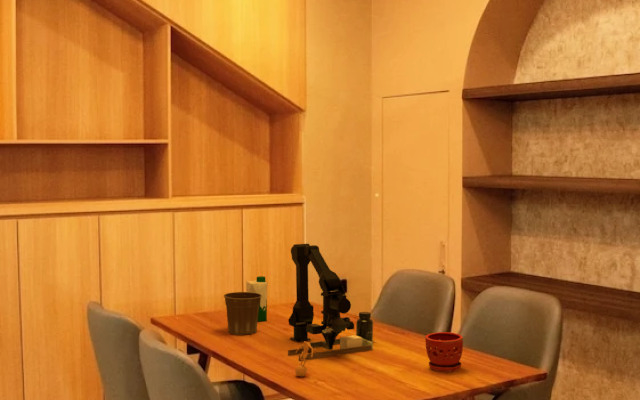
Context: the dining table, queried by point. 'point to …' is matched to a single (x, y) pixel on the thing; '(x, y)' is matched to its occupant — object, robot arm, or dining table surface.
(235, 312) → the plant pot
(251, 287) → the milk carton
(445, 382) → the dining table surface
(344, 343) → the cream block
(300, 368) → the figurine
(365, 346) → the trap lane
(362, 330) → the supplement bottle
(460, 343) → the plant pot
